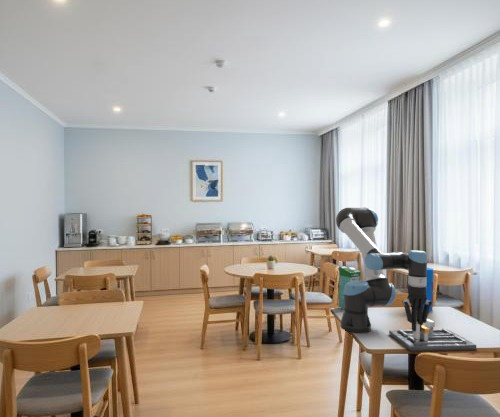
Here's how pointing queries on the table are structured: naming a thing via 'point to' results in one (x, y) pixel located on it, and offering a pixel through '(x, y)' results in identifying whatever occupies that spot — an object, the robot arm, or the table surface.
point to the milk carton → (346, 280)
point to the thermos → (429, 287)
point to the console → (432, 341)
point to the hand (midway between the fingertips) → (416, 338)
